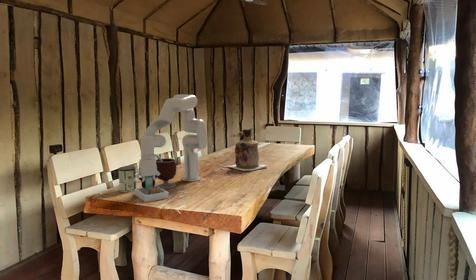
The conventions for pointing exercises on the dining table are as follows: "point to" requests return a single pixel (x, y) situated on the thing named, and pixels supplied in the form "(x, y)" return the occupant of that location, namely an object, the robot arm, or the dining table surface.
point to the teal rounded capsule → (148, 182)
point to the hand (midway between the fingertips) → (148, 187)
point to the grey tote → (145, 197)
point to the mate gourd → (166, 171)
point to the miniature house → (127, 178)
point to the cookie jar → (247, 153)
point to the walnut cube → (153, 190)
